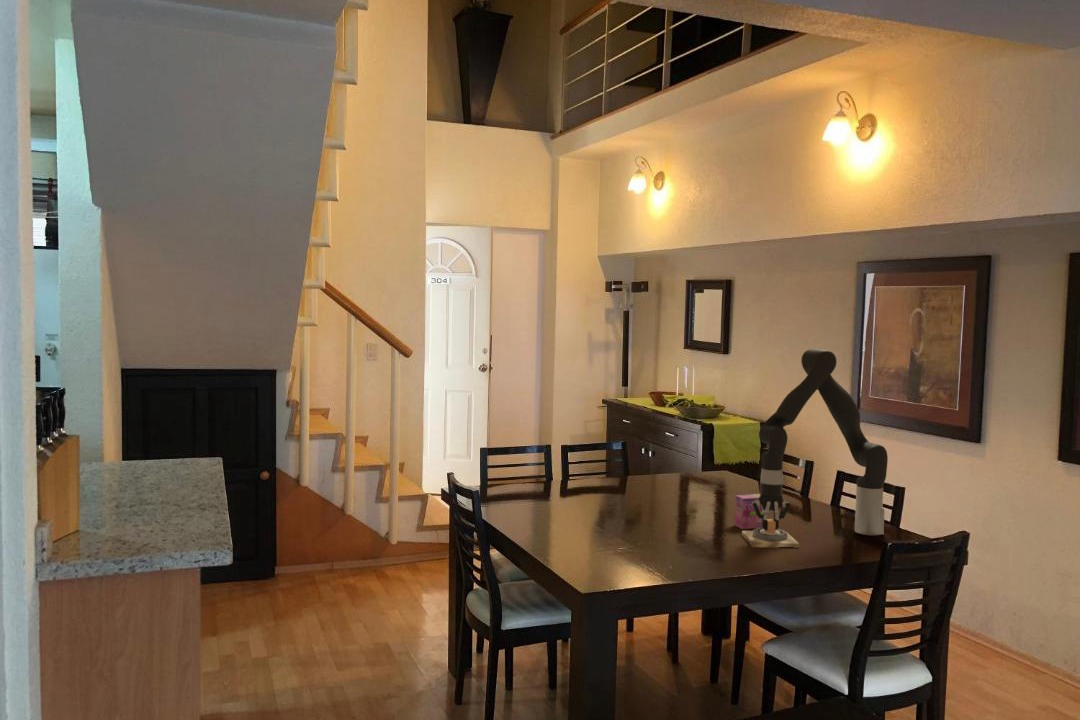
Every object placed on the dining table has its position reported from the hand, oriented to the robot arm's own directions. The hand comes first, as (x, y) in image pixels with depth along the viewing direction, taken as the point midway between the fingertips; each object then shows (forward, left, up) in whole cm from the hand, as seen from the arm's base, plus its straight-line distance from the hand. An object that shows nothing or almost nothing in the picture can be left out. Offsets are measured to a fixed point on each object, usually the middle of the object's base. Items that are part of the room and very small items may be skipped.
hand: (770, 529), depth 304 cm
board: (0, 0, -4) cm, 4 cm away
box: (+2, -20, -4) cm, 21 cm away
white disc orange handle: (0, 0, -2) cm, 2 cm away
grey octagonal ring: (0, 0, -3) cm, 3 cm away
